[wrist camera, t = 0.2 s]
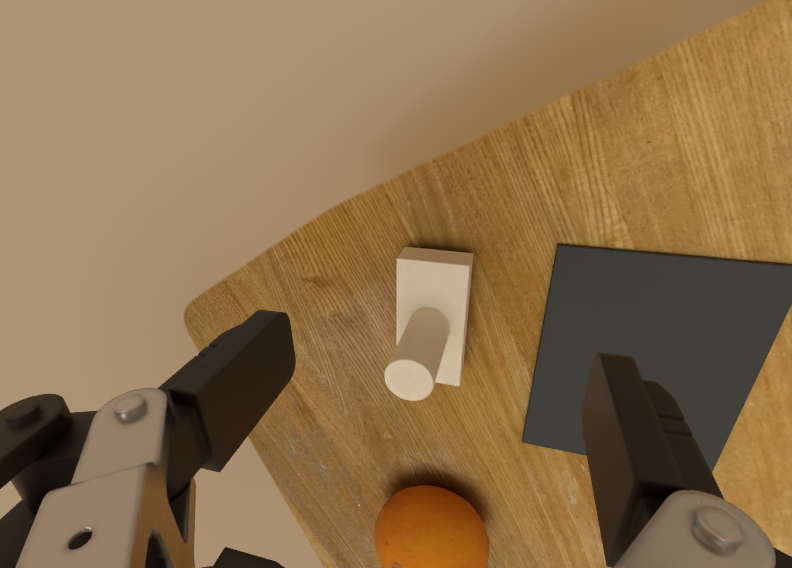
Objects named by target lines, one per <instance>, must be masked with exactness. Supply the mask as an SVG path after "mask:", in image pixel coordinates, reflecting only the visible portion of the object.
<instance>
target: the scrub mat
mask: <svg viewBox="0 0 792 568" xmlns="http://www.w3.org/2000/svg"><path fill="white" fill-rule="evenodd" d="M791 304H792V265H791V264H779V263H768V262H757V261H745V260H734V259H723V258H712V257H700V256H689V255H678V254H666V253H655V252H644V251H632V250H621V249H610V248H598V247H587V246H576V245H565V244H558V245H557V251H556V256H555V262H554V267H553V273H552V278H551V284H550V289H549V295H548V300H547V306H546V311H545V317H544V322H543V328H542V333H541V339H540V344H539V350H538V355H537V361H536V366H535V372H534V378H533V383H532V389H531V394H530V400H529V405H528V411H527V416H526V422H525V427H524V433H523V438H522V442H523V443H527V444H532V445H537V446H542V447H547V448H552V449H557V450H562V451H567V452H572V453H577V454H582V455H587V453H586V448H585V442H584V436H583V431H582V407H583V402H584V397H585V393H586V388H587V384H588V380H589V375H590V371H591V366H592V362H593V358H594V356H595V354H596V353H597V352H599V353H607V354H615V355H623V356H631V357H633V358H634V360H635V363H636V365H637V367H638V370H639V372H640V375H641V377H642V380H646V381H653V382H658V383H659V384H660V385H661V386H662V387H663V388H664V389H665V390H666V391H667V392H668V393H670V394H671V395H672V396H673V397H674V398H675V399H676V401H677V403H678V405H679V407H680V409H681V411H682V413H683V415H684V417H685V419H684V420H685V422H687V424H688V426H689V428H690V430H691V432H692V437H693V438H695V440H696V442H697V444H698V446H699V448H700V450H701V452H702V454H703V456H704V459H705V461H706V463H707V465H708V467H709V469H710V471H711V473H712V471H713V469H714V467H715V465H716V463H717V461H718V458H719V456H720V454H721V452H722V450H723V448H724V446H725V444H726V442H727V439H728V437H729V435H730V433H731V431H732V429H733V427H734V425H735V423H736V420H737V418H738V416H739V414H740V412H741V410H742V408H743V406H744V403H745V401H746V399H747V397H748V395H749V393H750V391H751V389H752V387H753V384H754V382H755V380H756V378H757V376H758V374H759V372H760V370H761V368H762V365H763V363H764V361H765V359H766V357H767V355H768V353H769V351H770V348H771V346H772V344H773V342H774V340H775V338H776V336H777V334H778V332H779V329H780V327H781V325H782V323H783V321H784V319H785V317H786V315H787V313H788V310H789V308H790V306H791Z"/></svg>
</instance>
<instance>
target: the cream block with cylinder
mask: <svg viewBox="0 0 792 568" xmlns="http://www.w3.org/2000/svg"><path fill="white" fill-rule="evenodd" d="M472 265H473V253H464V252H454V251H444V250H434V249H424V248H414V247H405V248H404V249H403V250H402V252H401V253H400V255H399V256H398V257H397V333H396V349H395V351H394V353H393V355H392V357H391V359H390V361H389V363H388V365H387V368H386V370H385V374H384V377H385V382H386V385H387V386H388V388H389V389H390V390H391V392H393V393H394V394H395V395H396V396H398V397H400V398H402V399H405V400H410V401H417V400H421V399H424V398H426V397H427V396H428V395H429V394H430V393H431V392H432V390H433V387H434V383H435V382H437V383H443V384H449V385H454V386H460V382H461V377H462V372H463V367H464V355H465V344H466V333H467V322H468V310H469V299H470V288H471V276H472Z"/></svg>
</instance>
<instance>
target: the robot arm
mask: <svg viewBox="0 0 792 568" xmlns="http://www.w3.org/2000/svg"><path fill="white" fill-rule="evenodd" d="M295 363H296V358H295V351H294V345H293V338H292V332H291V325H290V320H289V317H288V315H287V314H286V313H283V312H275V311H267V310H258V311H256V312H255V313H254V314H253V315H252V316H251V317H249V318H248V319H247V320H246V321H245V322H244V323H243V324H241V325H238V326H236V327H234V328H232V329H230V330H228V331H226V332H224V333H222V334H221V335H220V336H218V337H217V338H216V339H215V340H214V341H213V342H211V343H210V344H209V347H206V348H204V349H203V350H202V351H201V352H200V353H199V354H198V356H195V357H194V358H193V359H192V360H190V361H189V362H188V363H187V364H186V365H184V366H183V367H182V368H181V369H180V370H179V371H178V372H176V373H175V374H174V375H173V376H172V377H171V378H169V379H168V380H167V381H166V382H165V383H163V384H162V385H161V386H160V387H159V388H158V389H156V388H142V389H136V390H132V391H129V392H126V393H124V394H121V395H119V396H118V397H115V398H113V399H112V400H110V401H109V402H107V403H106V404H105V405H104V406H102V407H101V408H100V409H99V410H98V411H89V412H75V413H70V411H69V409H68V407H67V405H66V403H65V401H64V399H63V398H62V397H61V396H59V395H56V394H43V395H37V396H33V397H29V398H26V399H23V400H21V401H18V402H16V403H13V404H11V405H9V406H7V407H6V408H4V409H2V410H1V411H0V489H1V488H2V487H3V486H5V485H6V484H7V483H8V482H9V481H12V483H13V485H14V486H15V488H16V490H17V491H18V493H19V495H20V496H21V498H22V500H21V501H20V502H19V503H18V504H17V505H16V506H15V507H14V508H12V509H11V510H10V511H9V512H8V513H7V514H6V515H5V516H4V517H2V518H1V519H0V568H195V563H194V531H195V498H196V483H195V480H194V477H193V476H194V475H195V474H196V473H197V472H198V470H199V469H200V468H204V469H207V470H212V471H216V472H220V471H221V470H222V469H223V467H224V466H225V465H226V464H227V462H228V461H229V460H230V458H231V457H232V456H233V454H234V453H235V452H236V450H237V449H238V448H239V447H240V445H241V444H242V443H243V441H244V440H245V439H246V437H247V436H248V435H249V433H250V432H251V431H252V429H253V428H254V427H255V426H256V424H257V423H258V422H259V420H260V419H261V418H262V416H263V415H264V414H265V412H266V411H267V410H268V409H269V407H270V406H271V405H272V403H273V402H274V401H275V399H276V398H277V397H278V395H279V394H280V393H281V392H282V390H283V389H284V388H285V386H286V385H287V384H288V382H289V381H290V380H291V378H292V376H293V373H294V370H295ZM684 419H685V417H684V415H683V413H682V411H681V409H680V407H679V405H678V403H677V401H676V399H675V398H674V397H673V396H672V395H671V394H670V393H668V392H667V391H666V390H665V389H664V388H663V387H662V386H661V385H660V384H659V383H658V382H653V381H646V380H642V377H641V375H640V372H639V370H638V367H637V365H636V363H635V360H634V358H633V357H631V356H623V355H615V354H607V353H599V352H597V353H596V354H595V356H594V358H593V362H592V366H591V371H590V375H589V380H588V384H587V388H586V393H585V397H584V402H583V407H582V431H583V436H584V442H585V448H586V453H587V459H588V464H589V470H590V476H591V481H592V487H593V492H594V498H595V504H596V509H597V515H598V521H599V526H600V532H601V537H602V543H603V549H604V554H605V560H606V565H607V566H608V567H612V568H792V557H791V556H789V555H787V554H785V553H783V552H781V551H779V550H777V549H776V548H774V547H773V546H772V544H771V542H770V540H769V538H768V537H767V535H766V534H765V532H764V531H763V530H762V529H761V528H760V526H759V525H758V524H757V523H756V522H755V521H754V520H753V519H752V518H751V517H749V516H748V515H747V514H746V513H744V512H743V511H742V510H740V509H739V508H737V507H736V506H734V505H733V504H731V503H729V502H727V501H726V500H724V498H723V495H722V493H721V491H720V489H719V487H718V485H717V483H716V481H715V479H714V477H713V475H712V473H711V471H710V469H709V467H708V465H707V463H706V461H705V459H704V456H703V454H702V452H701V450H700V448H699V446H698V444H697V442H696V440H695V438H693V437H692V432H691V430H690V428H689V426H688V424H687V422H685V420H684ZM203 568H285V567H283V566H281V565H280V564H279V563H277V562H276V561H272V560H269V559H265V558H262V557H258V556H255V555H251V554H248V553H244V552H241V551H237V550H234V549H230V548H227V547H225V548H224V550H223V551H222V553H221V554H220V556H219V558H218V559H217V561H216V562H215V564H214V566H209V567H203Z"/></svg>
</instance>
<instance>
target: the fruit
mask: <svg viewBox="0 0 792 568" xmlns="http://www.w3.org/2000/svg"><path fill="white" fill-rule="evenodd" d="M375 543H376V548H377V553H378V557H379V561H380V564H381V566H382V568H486V565H487V562H488V557H489V541H488V536H487V533H486V530H485V527H484V525H483V522H482V520H481V519H480V517H479V515H478V514H477V512H476V510H475V509H474V508H473V507H472V506H471V505H470V503H469V502H467V501H466V500H465V499H464V498H462V497H460V496H459V495H457V494H455V493H453V492H451V491H449V490H446V489H444V488H440V487H436V486H430V485H419V486H413V487H408V488H405V489H403V490H401V491H399V492H397V493H396V494H395V495H393V496H392V497H391V498H390V499H389V500H388V501H387V503H386V504H385V505H384V506H383V508H382V510H381V511H380V513H379V516H378V518H377V521H376V525H375Z"/></svg>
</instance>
